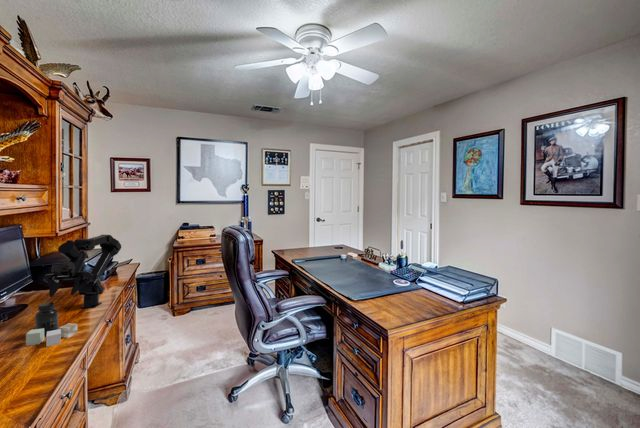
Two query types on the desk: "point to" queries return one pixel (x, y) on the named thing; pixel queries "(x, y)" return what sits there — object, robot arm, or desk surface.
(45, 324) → the supplement bottle
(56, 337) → the grey plastic block
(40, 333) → the sage block
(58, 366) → the desk surface
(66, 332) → the birch block
